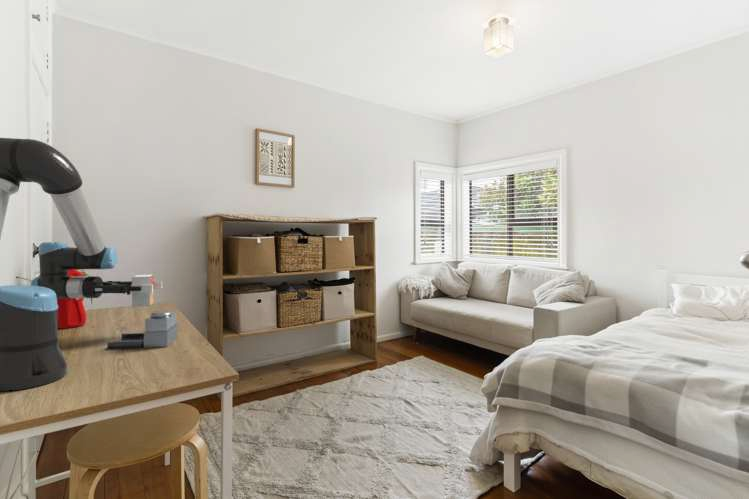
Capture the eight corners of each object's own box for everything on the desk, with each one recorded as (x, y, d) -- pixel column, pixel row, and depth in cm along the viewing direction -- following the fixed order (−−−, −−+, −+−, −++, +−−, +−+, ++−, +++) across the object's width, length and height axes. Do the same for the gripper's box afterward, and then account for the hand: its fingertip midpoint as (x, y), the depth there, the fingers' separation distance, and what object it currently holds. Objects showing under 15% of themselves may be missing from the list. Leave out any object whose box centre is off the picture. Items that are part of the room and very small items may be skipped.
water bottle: (76, 321, 157) (75, 261, 156) (89, 325, 152) (88, 262, 151) (48, 326, 149) (47, 262, 148) (60, 330, 144) (59, 263, 143)
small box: (150, 306, 134) (150, 276, 134) (131, 307, 132) (131, 276, 132) (154, 302, 142) (153, 274, 141) (136, 303, 140) (136, 274, 139)
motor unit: (167, 346, 125) (167, 315, 124) (107, 349, 121) (106, 317, 121) (177, 337, 136) (177, 309, 135) (122, 339, 132) (122, 310, 132)
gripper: (102, 293, 144) (167, 292, 148) (68, 303, 123) (145, 301, 127) (101, 273, 143) (167, 273, 148) (68, 279, 122) (145, 279, 127)
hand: (157, 286), depth 137 cm, fingers closed on small box, 9 cm apart
